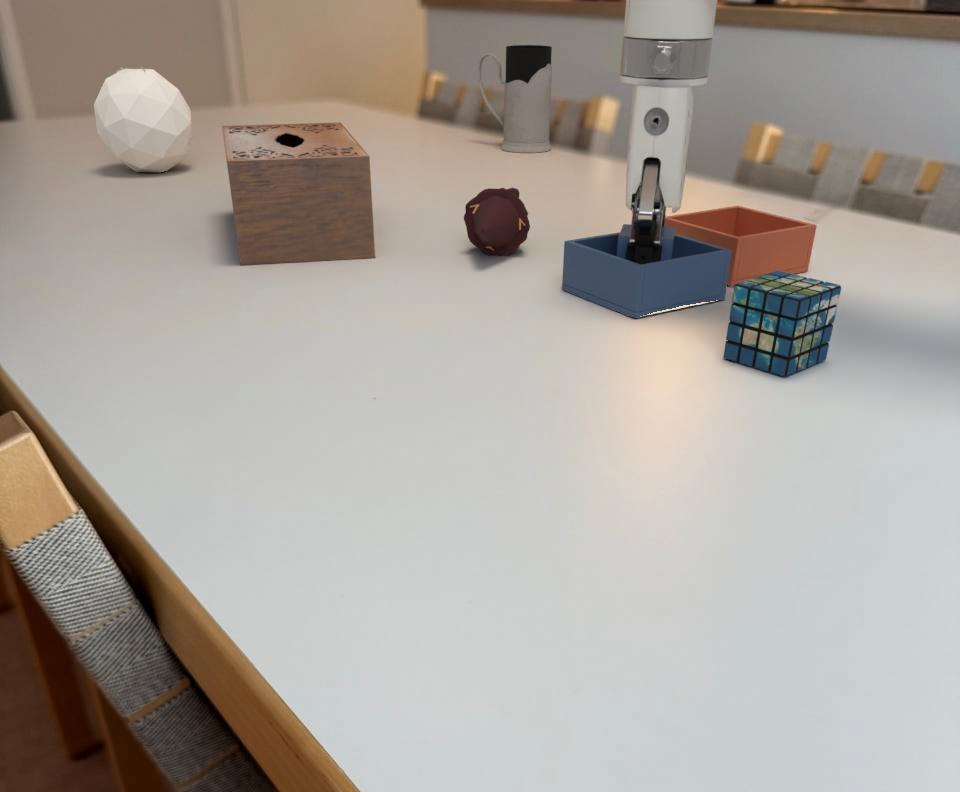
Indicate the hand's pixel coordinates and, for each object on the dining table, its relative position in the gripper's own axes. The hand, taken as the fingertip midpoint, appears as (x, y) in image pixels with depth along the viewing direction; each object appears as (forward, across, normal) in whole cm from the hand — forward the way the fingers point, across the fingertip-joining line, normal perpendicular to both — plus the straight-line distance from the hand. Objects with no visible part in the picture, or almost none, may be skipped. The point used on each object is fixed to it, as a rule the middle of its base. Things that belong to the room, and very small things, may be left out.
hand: (642, 279), depth 93 cm
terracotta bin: (+1, +13, -9) cm, 15 cm away
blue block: (+1, 0, 0) cm, 1 cm away
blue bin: (+2, 0, 0) cm, 2 cm away
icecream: (+2, +13, +17) cm, 21 cm away
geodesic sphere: (+2, +50, +78) cm, 93 cm away
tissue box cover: (+2, +16, +42) cm, 45 cm away
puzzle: (+2, -16, -12) cm, 20 cm away
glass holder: (+2, +86, +29) cm, 90 cm away
